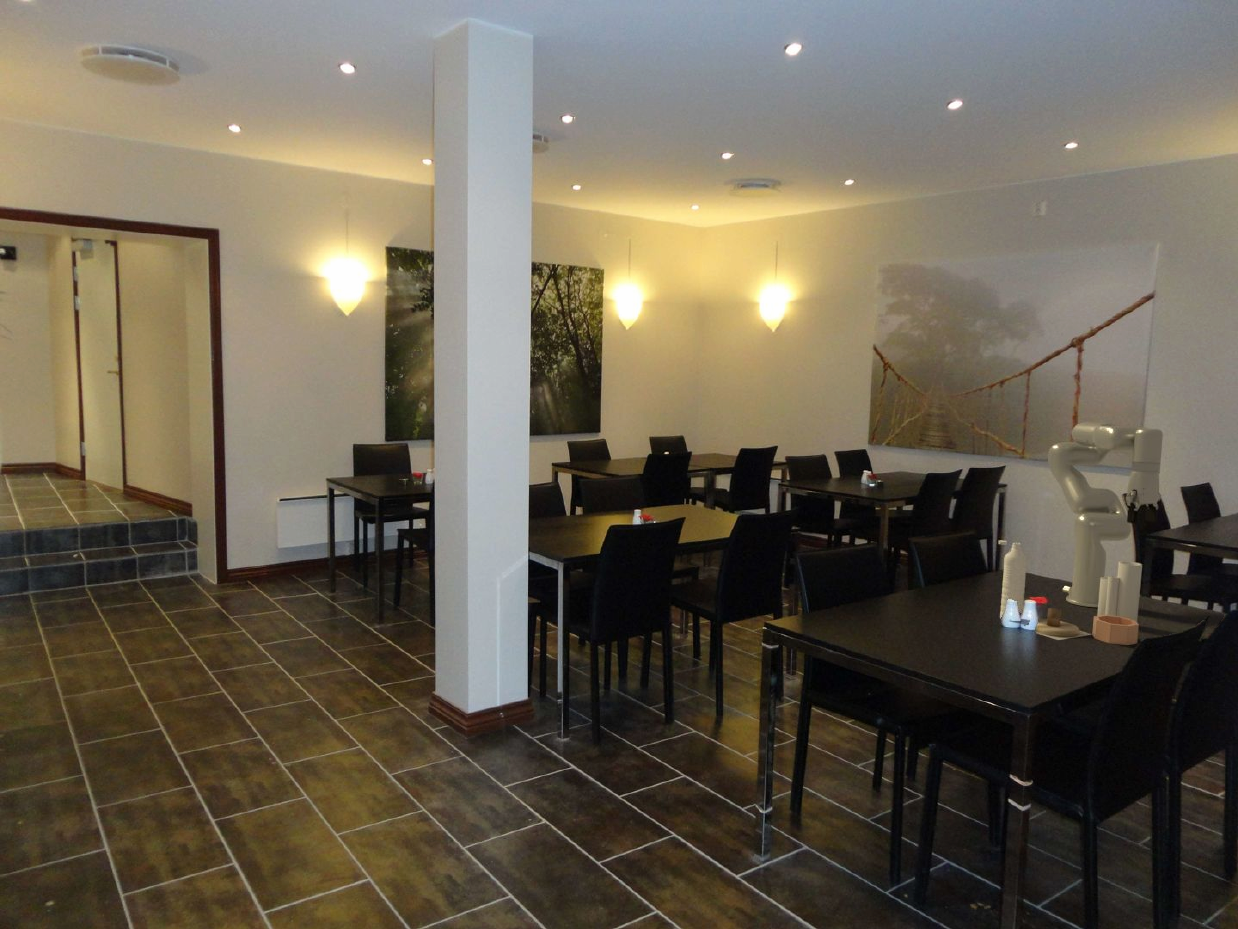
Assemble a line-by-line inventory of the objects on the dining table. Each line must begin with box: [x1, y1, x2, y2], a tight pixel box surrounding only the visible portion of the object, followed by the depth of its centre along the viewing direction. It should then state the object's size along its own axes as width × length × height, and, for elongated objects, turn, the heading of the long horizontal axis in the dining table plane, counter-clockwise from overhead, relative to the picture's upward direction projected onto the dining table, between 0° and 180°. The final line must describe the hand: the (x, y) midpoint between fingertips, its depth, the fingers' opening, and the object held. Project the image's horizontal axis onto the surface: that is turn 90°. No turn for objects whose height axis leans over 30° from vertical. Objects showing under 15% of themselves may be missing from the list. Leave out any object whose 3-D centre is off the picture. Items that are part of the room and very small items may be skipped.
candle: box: [1096, 560, 1143, 623], centre depth 276 cm, size 11×7×20 cm, turn 50°
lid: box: [1035, 607, 1080, 638], centre depth 266 cm, size 14×14×6 cm
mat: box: [1035, 630, 1093, 641], centre depth 266 cm, size 15×15×1 cm
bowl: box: [1091, 615, 1140, 646], centre depth 259 cm, size 11×11×6 cm
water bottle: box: [998, 540, 1028, 619], centre depth 278 cm, size 9×6×25 cm
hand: (1141, 522), depth 273 cm, fingers open, 9 cm apart
